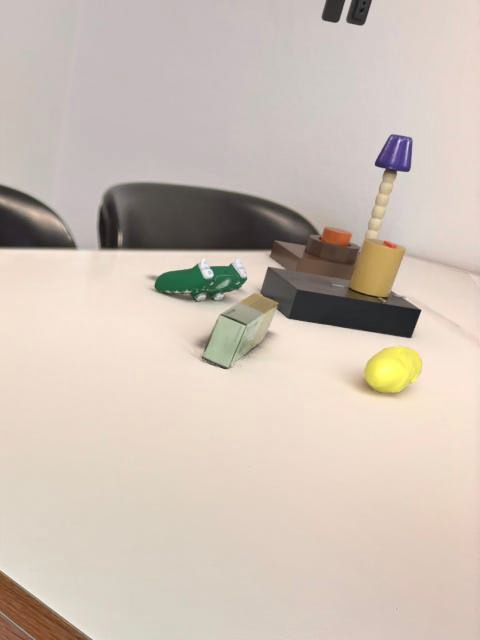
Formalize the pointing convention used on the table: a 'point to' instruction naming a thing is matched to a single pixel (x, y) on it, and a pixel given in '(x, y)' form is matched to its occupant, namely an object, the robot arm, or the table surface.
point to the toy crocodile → (203, 280)
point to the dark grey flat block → (338, 303)
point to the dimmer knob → (377, 267)
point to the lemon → (393, 369)
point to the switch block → (317, 257)
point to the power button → (336, 236)
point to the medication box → (239, 330)
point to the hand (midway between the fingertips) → (341, 23)
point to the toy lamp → (389, 176)
